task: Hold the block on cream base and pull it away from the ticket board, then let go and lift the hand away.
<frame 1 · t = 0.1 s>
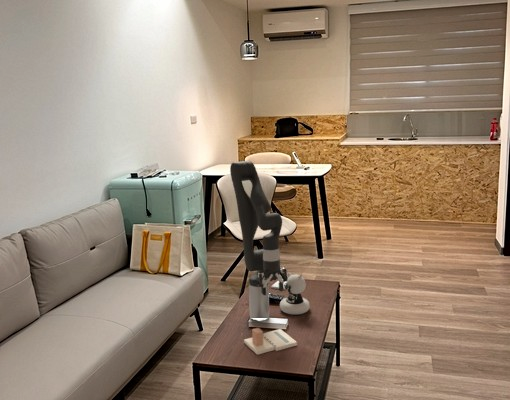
hand: (272, 292, 237), 17 cm above the table, tool pointing down, fingers open, 8 cm apart
decorative figurine: (294, 310, 260), on the table
ticket board: (278, 341, 229), on the table
block on cream base: (258, 338, 224), point 4 cm above the table, slide at 0.0 cm
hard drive: (282, 286, 292), on the table
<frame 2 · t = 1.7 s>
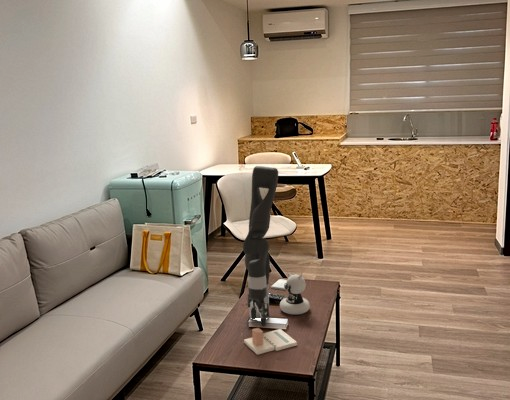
hand: (258, 322, 222), 11 cm above the table, tool pointing down, fingers open, 8 cm apart
nothing on the table moved.
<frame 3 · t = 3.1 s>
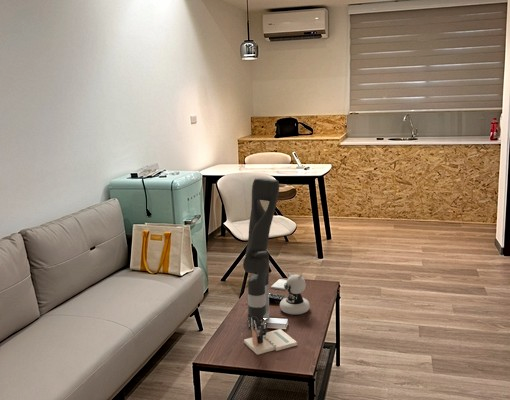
hand: (257, 340, 224), 3 cm above the table, tool pointing down, fingers closed on block on cream base, 4 cm apart
block on cream base: (258, 338, 224), point 4 cm above the table, slide at 0.0 cm, touching gripper
everything else where it was.
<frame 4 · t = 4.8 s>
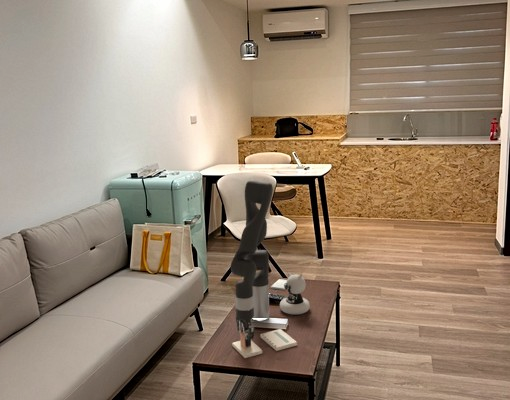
hand: (245, 343, 221), 3 cm above the table, tool pointing down, fingers closed on block on cream base, 4 cm apart
block on cream base: (246, 341, 221), point 4 cm above the table, slide at 5.6 cm, touching gripper
everything else where it was.
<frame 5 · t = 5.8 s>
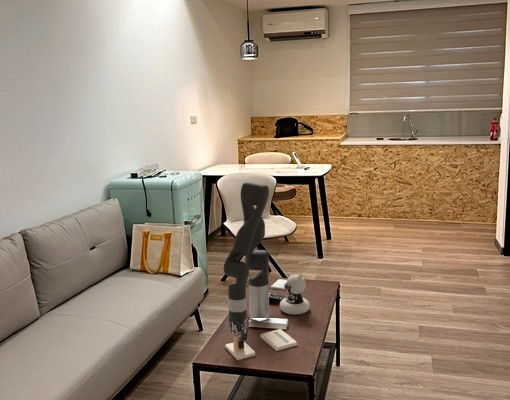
hand: (238, 345, 220), 3 cm above the table, tool pointing down, fingers closed on block on cream base, 4 cm apart
block on cream base: (239, 343, 220), point 4 cm above the table, slide at 8.8 cm, touching gripper
everything else where it was.
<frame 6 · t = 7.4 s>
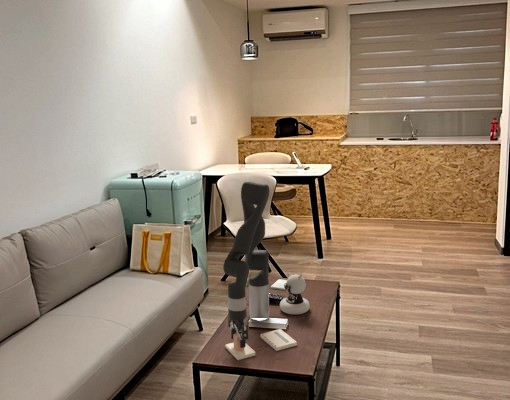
hand: (238, 342, 220), 4 cm above the table, tool pointing down, fingers open, 8 cm apart
block on cream base: (239, 343, 220), point 4 cm above the table, slide at 8.8 cm
everything else where it was.
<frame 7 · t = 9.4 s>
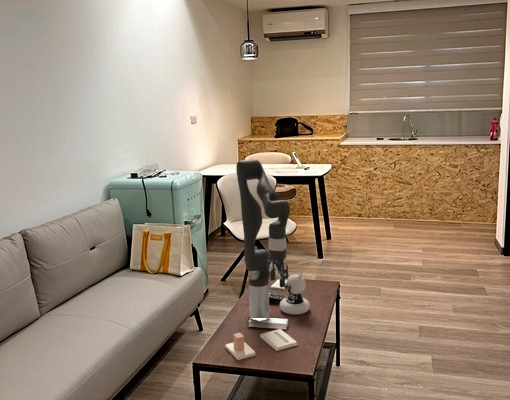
hand: (277, 283, 226), 25 cm above the table, tool pointing down, fingers open, 8 cm apart
nothing on the table moved.
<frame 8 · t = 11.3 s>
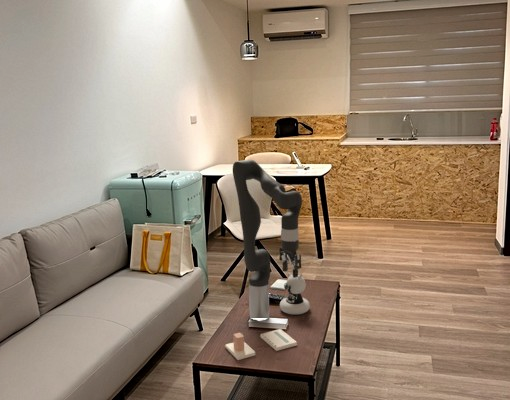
hand: (290, 274, 229), 28 cm above the table, tool pointing down, fingers open, 8 cm apart
nothing on the table moved.
at the end: block on cream base slide at 8.8 cm; the gripper is holding nothing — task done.
